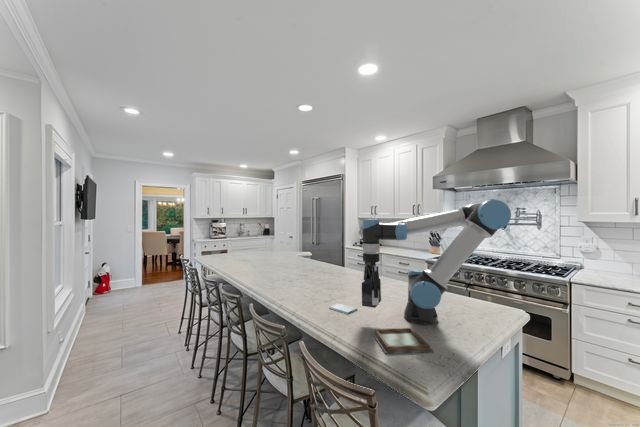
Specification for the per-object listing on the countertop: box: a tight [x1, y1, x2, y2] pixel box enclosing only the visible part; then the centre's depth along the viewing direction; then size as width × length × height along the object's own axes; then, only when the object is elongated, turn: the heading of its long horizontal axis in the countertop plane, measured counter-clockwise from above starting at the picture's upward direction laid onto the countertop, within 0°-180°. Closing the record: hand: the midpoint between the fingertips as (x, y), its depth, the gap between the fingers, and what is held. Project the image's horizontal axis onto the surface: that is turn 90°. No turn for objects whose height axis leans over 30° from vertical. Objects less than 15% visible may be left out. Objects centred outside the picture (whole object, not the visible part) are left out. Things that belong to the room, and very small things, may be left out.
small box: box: [361, 278, 382, 309], centre depth 126 cm, size 11×6×10 cm, turn 154°
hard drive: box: [328, 302, 358, 315], centre depth 145 cm, size 2×8×12 cm
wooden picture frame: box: [370, 327, 435, 355], centre depth 109 cm, size 18×18×2 cm
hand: (371, 300), depth 126 cm, fingers closed on small box, 12 cm apart
